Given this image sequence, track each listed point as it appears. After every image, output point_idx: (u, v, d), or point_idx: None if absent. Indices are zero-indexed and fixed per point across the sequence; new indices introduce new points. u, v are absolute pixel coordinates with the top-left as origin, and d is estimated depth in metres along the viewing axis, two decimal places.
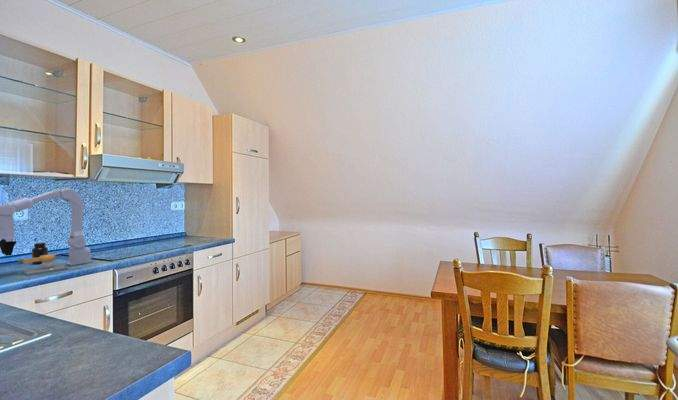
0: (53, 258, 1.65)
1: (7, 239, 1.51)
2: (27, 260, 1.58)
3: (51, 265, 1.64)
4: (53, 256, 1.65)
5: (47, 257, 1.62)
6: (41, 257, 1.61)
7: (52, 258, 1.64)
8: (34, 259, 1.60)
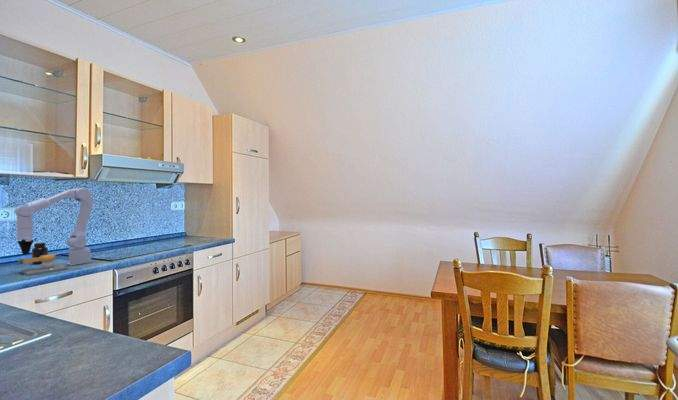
0: (53, 258, 1.65)
1: (26, 239, 1.56)
2: (27, 260, 1.58)
3: (51, 265, 1.64)
4: (53, 256, 1.65)
5: (47, 257, 1.62)
6: (41, 257, 1.61)
7: (52, 258, 1.64)
8: (34, 259, 1.60)
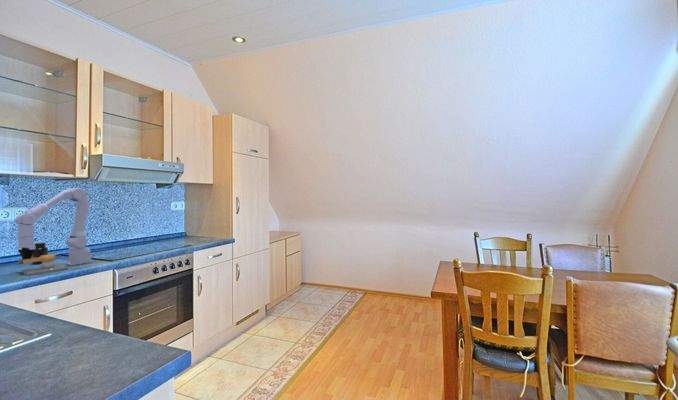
0: (53, 258, 1.65)
1: (31, 247, 1.56)
2: (27, 260, 1.58)
3: (51, 265, 1.64)
4: (53, 256, 1.65)
5: (47, 257, 1.62)
6: (41, 257, 1.61)
7: (52, 258, 1.64)
8: (34, 259, 1.60)
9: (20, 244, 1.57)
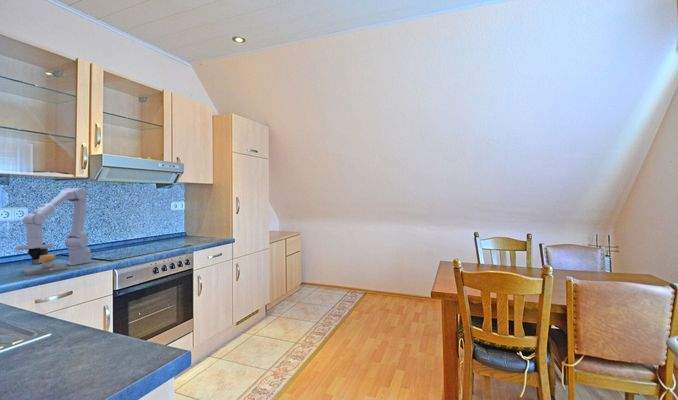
0: None
1: (52, 246, 1.59)
2: (40, 260, 1.57)
3: (51, 265, 1.64)
4: None
5: (53, 256, 1.65)
6: (47, 257, 1.62)
7: None
8: (43, 259, 1.60)
9: (35, 244, 1.55)
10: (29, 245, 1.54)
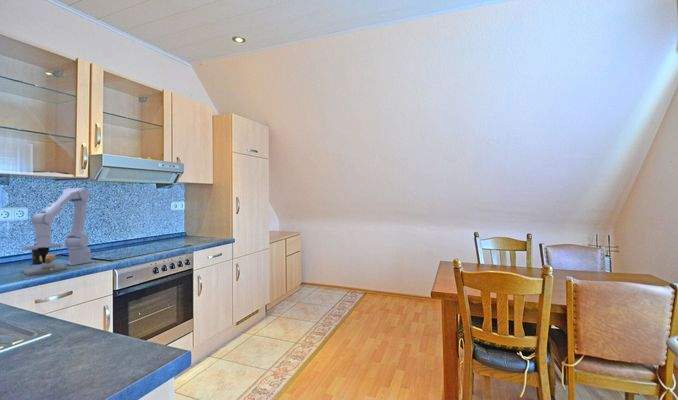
0: None
1: (62, 244, 1.63)
2: (49, 259, 1.59)
3: (51, 265, 1.64)
4: None
5: (54, 256, 1.66)
6: (51, 256, 1.63)
7: None
8: (49, 258, 1.61)
9: (46, 243, 1.57)
10: (40, 244, 1.55)
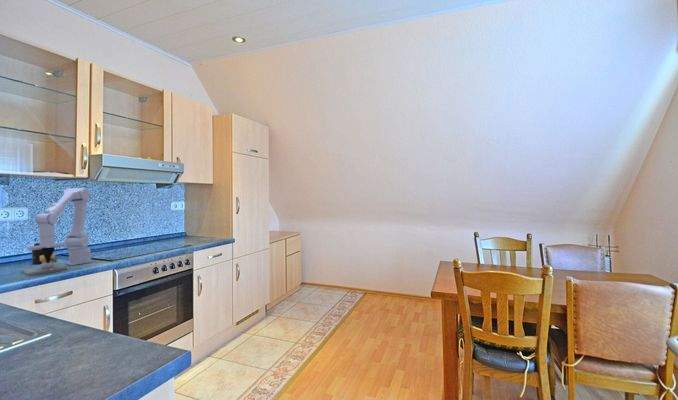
0: None
1: (66, 244, 1.64)
2: None
3: (51, 265, 1.64)
4: None
5: None
6: (52, 256, 1.64)
7: None
8: (52, 258, 1.62)
9: (51, 243, 1.58)
10: (45, 244, 1.56)
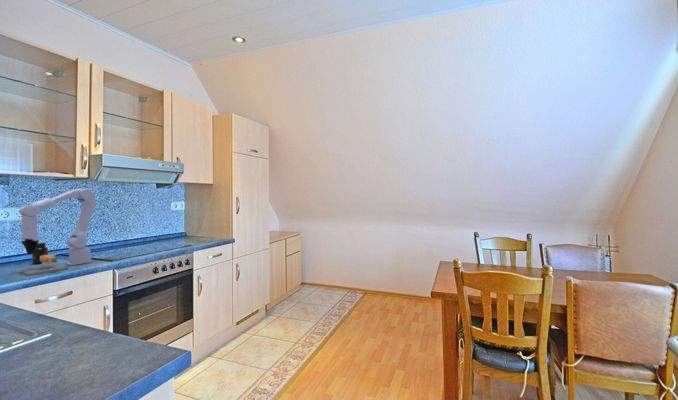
0: None
1: (35, 238, 1.58)
2: None
3: (51, 265, 1.64)
4: None
5: None
6: (52, 256, 1.64)
7: None
8: (52, 258, 1.62)
9: (24, 235, 1.59)
10: (22, 235, 1.59)
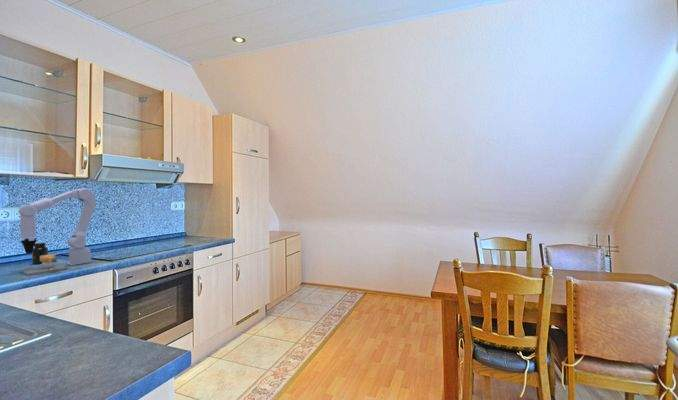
0: None
1: (30, 238, 1.58)
2: None
3: (51, 265, 1.64)
4: None
5: None
6: (52, 256, 1.64)
7: None
8: (52, 258, 1.62)
9: (21, 235, 1.60)
10: None
